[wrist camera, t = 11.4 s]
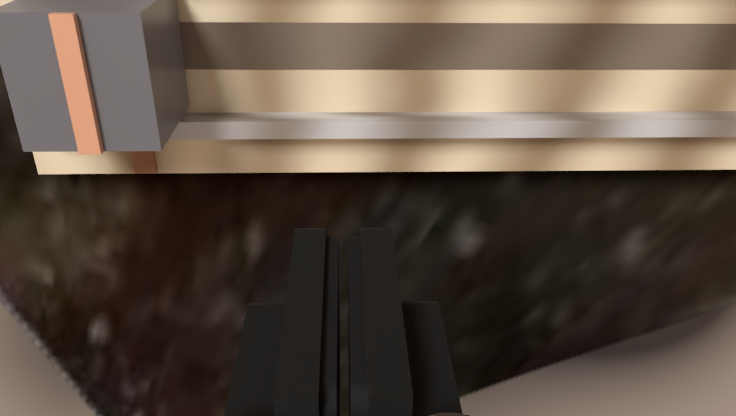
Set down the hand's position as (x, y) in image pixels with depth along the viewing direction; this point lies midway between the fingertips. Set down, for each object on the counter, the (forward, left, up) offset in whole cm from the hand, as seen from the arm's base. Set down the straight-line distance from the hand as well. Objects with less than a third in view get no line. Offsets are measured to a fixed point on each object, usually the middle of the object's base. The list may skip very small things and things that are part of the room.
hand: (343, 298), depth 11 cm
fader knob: (0, -9, -18) cm, 20 cm away
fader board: (0, +3, -20) cm, 21 cm away
